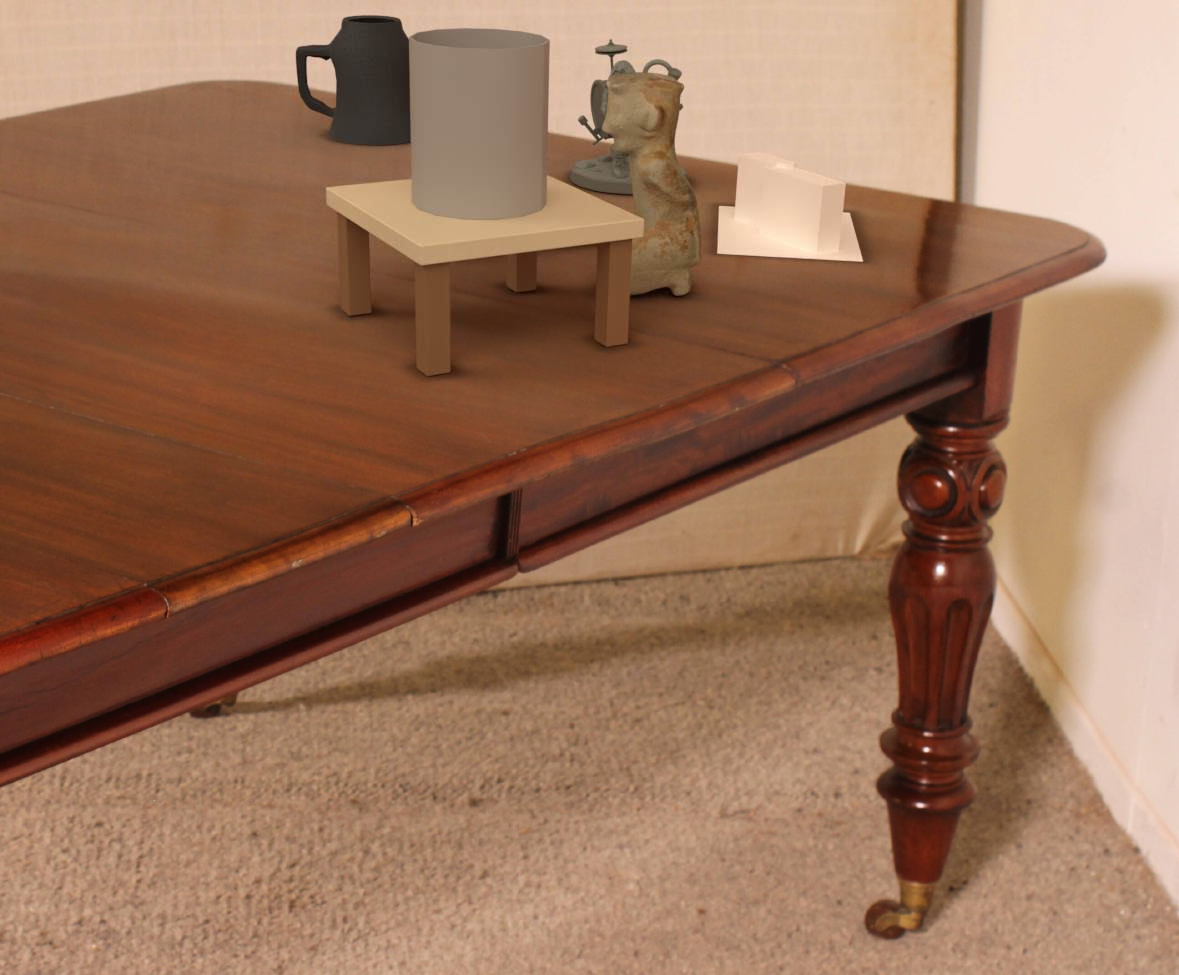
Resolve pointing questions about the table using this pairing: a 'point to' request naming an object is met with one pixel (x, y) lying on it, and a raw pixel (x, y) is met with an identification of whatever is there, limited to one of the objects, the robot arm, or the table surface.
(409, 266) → the table surface
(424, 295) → the side table
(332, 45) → the mug
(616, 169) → the figurine
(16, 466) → the table surface
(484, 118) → the cup
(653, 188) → the sculpture
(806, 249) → the napkin holder
